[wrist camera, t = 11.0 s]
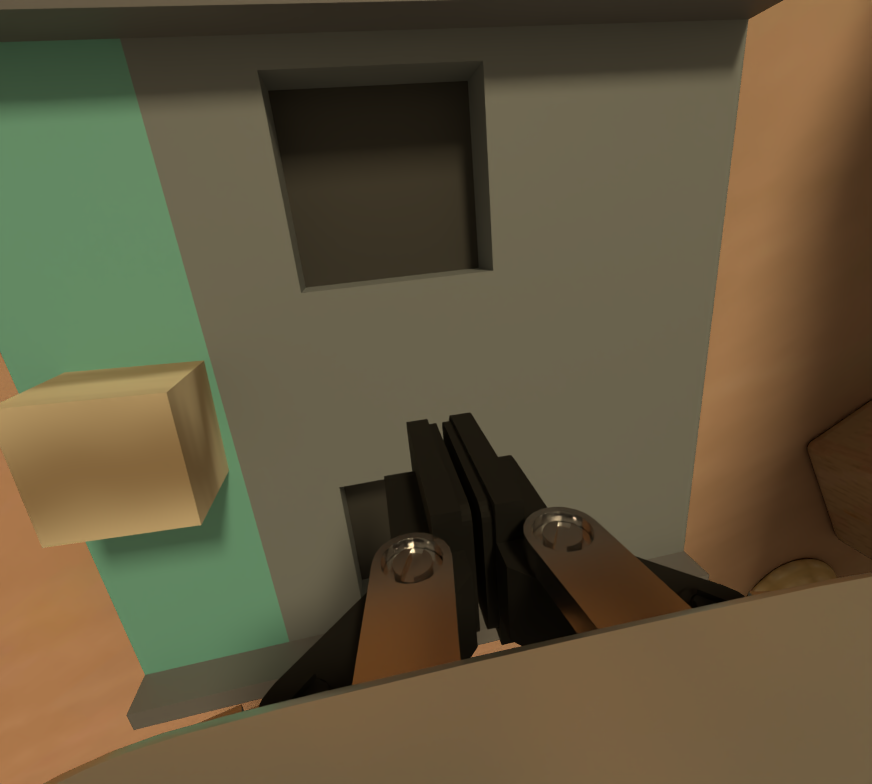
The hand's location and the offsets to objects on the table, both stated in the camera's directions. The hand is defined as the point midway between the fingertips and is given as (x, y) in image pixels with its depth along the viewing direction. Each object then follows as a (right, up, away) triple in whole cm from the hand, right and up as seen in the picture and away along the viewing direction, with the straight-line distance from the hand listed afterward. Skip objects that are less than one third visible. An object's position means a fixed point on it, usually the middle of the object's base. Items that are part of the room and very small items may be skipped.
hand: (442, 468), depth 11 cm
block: (-12, +1, +7) cm, 14 cm away
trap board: (-2, +3, +11) cm, 11 cm away
